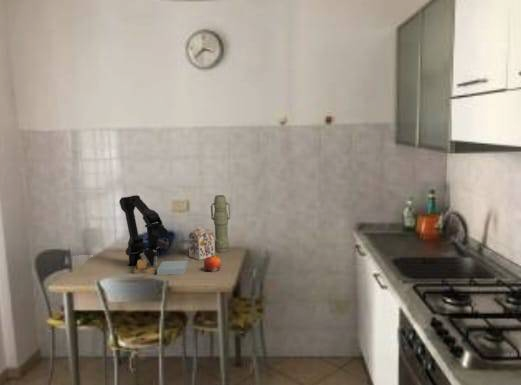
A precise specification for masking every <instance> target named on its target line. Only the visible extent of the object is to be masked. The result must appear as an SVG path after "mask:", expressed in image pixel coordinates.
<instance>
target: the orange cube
mask: <svg viewBox="0 0 521 385" xmlns="http://www.w3.org/2000/svg"><path fill="white" fill-rule="evenodd" d="M147 263H148V262H147V258H146V259H145V258H144V259H143V258H142V260H138V261H137V266H138V269H145V268H146V267H147V265H148V264H147Z"/></svg>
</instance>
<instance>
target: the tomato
mask: <svg viewBox="0 0 521 385" xmlns="http://www.w3.org/2000/svg"><path fill="white" fill-rule="evenodd" d="M221 266H222V262H221V258H219V257H218V256H216V255H215V256H211V257H207V258H206V259H203V267H204V269H206V271H207V270H208V271H211V272H215V271H219V270H220V268H221Z"/></svg>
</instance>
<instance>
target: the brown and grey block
mask: <svg viewBox="0 0 521 385" xmlns="http://www.w3.org/2000/svg"><path fill="white" fill-rule="evenodd" d="M159 266H160V264H158V258H157V256H155V257H154V266H151V264H150V265H149V264H147V267H146V268H145V269H138V266H137V265H136V266H134V267H133V274H157V269H158V267H159Z"/></svg>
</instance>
